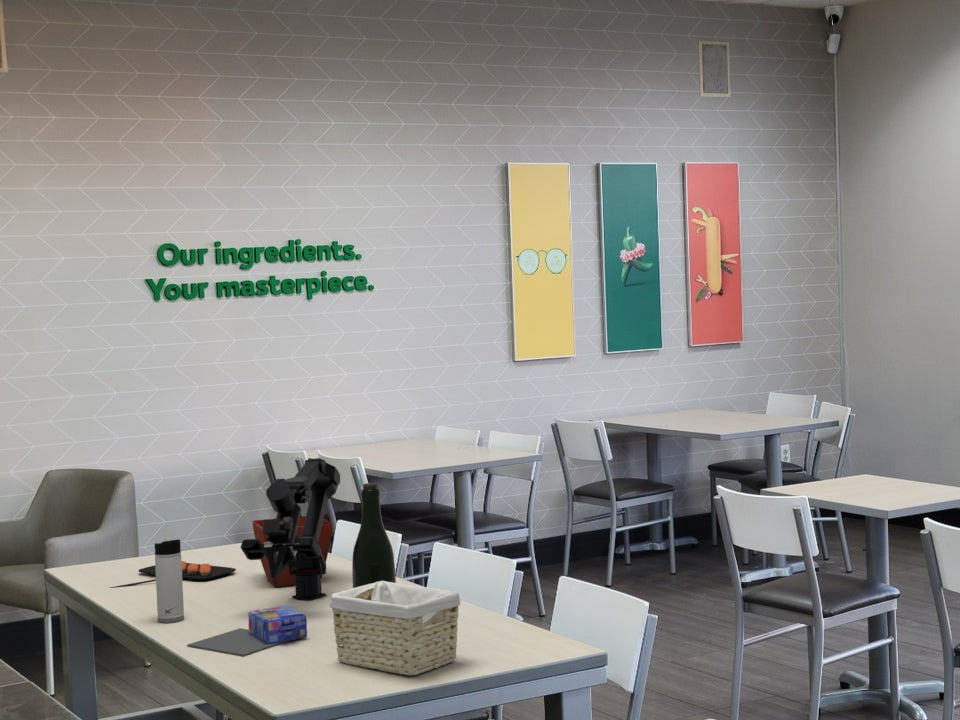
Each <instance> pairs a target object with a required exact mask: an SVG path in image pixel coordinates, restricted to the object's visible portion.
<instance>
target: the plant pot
mask: <svg viewBox="0 0 960 720" xmlns="http://www.w3.org/2000/svg"><path fill="white" fill-rule="evenodd" d="M305 518H306V515H304V516H302V518H301V519H299V522H298V527H297V532H298V536H297V537H295V538H298V537H301V534H302V530H303V526H304V522H305ZM269 519H270V518H267V519H266V518H264V519H254V520H252V522H251V523H252V528H253V533H254V539H259V541H260V542H261V544H264V542H270V541H268V540H267V539H266V536H267V535H266V534H265V533H264V534H263V533H262V530H263V520H269ZM332 528H333V523H332V522H330V521H329V520H327V519H325V518H324V519H323V524H322V528H321V532H320V537H319V541H318V544H319V547H320V549H321V551H322V555H323V557H324V560H325V562H326V563H327V559H328V555H329V550H330V544H331V538H332V531H333V529H332ZM277 556H278V554H277ZM260 562H261V565H262V568H263V571H264V574H265V578H266V579H267V580H268V581H269V582H270V583H271V585H272V586H273V587H275V588H276V587H277V588H278V587H288V586H289V587H290V586H291V587H292V586H295V581H296V575H290V571H289V566H287V567H286V568H285V569H284V570H283V571H282V572H281V573H280V575H279V576H278V577H277V578H276V579H272V578H271V572H270V565H269V561H268V560H267V558H266V557H265V555H264V557H263V558H262V559H260ZM321 579H323V574H322V575H321Z"/></svg>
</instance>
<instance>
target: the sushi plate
mask: <svg viewBox="0 0 960 720" xmlns="http://www.w3.org/2000/svg"><path fill="white" fill-rule="evenodd" d="M181 562H182V579H187V578H188V579H189V580H196V579H197V580H198V581H201V580H202V581H206V580H212V579H215V577H216V578H219V577H222V576H225V575H228V574H231V573H234V572H236V571H237V569H236V568H235V567H234V568H233V567H228V566H220V565H219V566H218V565H211V564H209V563H202V564H200V563H192V562H191V563H190V562H186V561H184V560H181ZM138 572H139V573H143V574H148V575H153V576H154V577H156V570H155V564H154V565H151V566H150V565H149V566H148V567H142V568H140V569H138ZM211 578H212V579H211ZM188 579H187V580H188ZM205 579H206V580H205ZM197 580H196V581H197ZM153 582H156V578H155V579H151V580H145V581H138V582H132V583H127V584H121V585H116V586H110V587H109V588H110V589H115V588H123V587H124V588H125V587H132V586H137V585H142V584H147V583H153Z"/></svg>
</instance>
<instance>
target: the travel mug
mask: <svg viewBox="0 0 960 720" xmlns="http://www.w3.org/2000/svg"><path fill="white" fill-rule="evenodd" d="M181 548H182V547H181V539H178V538H177V539H172V540H164V541H161V542H159V543H158V542H155V543H154V565H155V570H156V576H155V579H156V581H155V585H156V586H155V590H156V604H157V605H156V607H157V609H156V610H157V622H158V623H161V624H171V623H173V624H174V623H178V622H182V621H183V620H184V619H185V612H184V611H185V610H184V609H185V608H184V589H183V588H184V586H183V583H184V582H183V578H182V562H181V561H182V549H181ZM181 620H182V621H181Z"/></svg>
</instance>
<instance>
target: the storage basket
mask: <svg viewBox="0 0 960 720" xmlns="http://www.w3.org/2000/svg"><path fill="white" fill-rule="evenodd" d="M330 599H331V600H330V602H329V607H330V608H331V610H332V615H333V617H332V618H333V625H334V626H333V631H334V632H333V633H334V635H335V643H336V653H337V660H338V662H340V663H344V664H346V665H352V666H353V665H354V666H356V667H358V666H359V667H362V668H365V669H372V670H378V671H381V672H389V673H393V674H400V675H405V676H417V675H420V674H424V673H425V672H430V671H431V670H433V669H438V668H440V667H442V666H445V665H447V664H450V663H452V662H454V661H455V660H456V658H457V647H458V646H457V642H458V618H459V606H460V605H461V598H460V594H459V592H458V591H456V590H454V591H452V590H446V589H441V588H440V589H439V588H433V587H425V586H418V585H417V586H416V585H409V584H403V583H398V582H396V583H392V582H386V581H380V582H379V581H378V582H375V583H372V584H367V585H364V586H360V587H356V588H353V587H352V588H349V589H346V590H342V591H339V592H335V593H333V594H331V597H330ZM367 599H369V600H367Z"/></svg>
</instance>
